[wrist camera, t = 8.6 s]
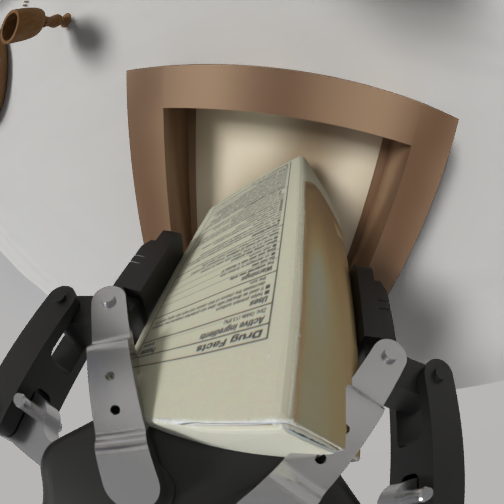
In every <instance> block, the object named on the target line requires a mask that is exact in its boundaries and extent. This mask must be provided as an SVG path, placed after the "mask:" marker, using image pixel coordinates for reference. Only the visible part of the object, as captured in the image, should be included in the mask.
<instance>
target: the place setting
mask: <svg viewBox="0 0 504 504" xmlns="http://www.w3.org/2000/svg"><path fill="white" fill-rule="evenodd" d="M24 2H27V1H24ZM23 6H26V5H23ZM70 21H71V15H70V14H69V13H67V14H65V15H64V16H63V17H62V16H61V15H59V14H56V15H53V16H51V17H47V16H45V12H44V11H43V10H42V9H39V8H21V9H15V10H12V11H10V12H9V13H8V15H7V16H6V18H5V19H4V22H3V24H2V28H1V32H0V109H1V107H2V104H3V100H4V96H5V90H6V84H7V73H8V57H7V48H6V44H10V43H14V42H19V41H23V40H27V39H29V38H32V37H34V36H35V35H37V34H38V33H39V32H40V31H41V29H42V28H43V27H46V26H49V27H52V28H54V27H57V26H59V25H60V24H61V26H62V27H66V26H68V24H69V23H70Z"/></svg>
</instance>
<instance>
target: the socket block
mask: <svg viewBox="0 0 504 504" xmlns="http://www.w3.org/2000/svg"><path fill="white" fill-rule="evenodd" d="M127 109H128V126H129V139H130V151H131V161H132V170H133V178H134V186H135V193H136V200H137V207H138V213H139V219H140V225H141V231H142V236H143V242H144V244H146V243H147V242H149V241H150V240H155V241H156V239H157V238H158V236H159V235H160V234H161V232H162V231H164V230H166V231H172V232H178V233H181V235H182V243H183V253H185V251H186V249H187V248H188V246H189V244H190V242H191V241H192V239H193V237H194V235H195V234H196V232H197V230H198V228H199V227H200V225H201V223H202V222H203V220H204V218H205V217H206V215H207V213H208V212H209V210H210V209H211V208H212V207H213V206H215V205H216V204H218V203H219V202H221V201H222V200H224V199H225V198H227V197H228V196H230V195H231V194H233V193H235V192H236V191H238V190H239V189H241V188H243V187H244V186H246V185H248V184H249V183H251V182H253V181H254V180H256V179H258V178H259V177H261V176H263V175H265V174H266V173H268V172H270V171H272V170H274V169H275V168H277V167H279V166H281V165H283V164H285V163H287V162H289V161H291V160H293V159H295V158H297V157H299V156H302V157H304V158H305V159H306V160H307V161H308V163H309V164H310V166H311V168H312V169H313V171H314V173H315V174H316V176H317V177H318V179H319V181H320V182H321V184H322V186H323V188H324V189H325V191H326V193H327V195H328V197H329V199H330V200H331V202H332V204H333V206H334V208H335V210H336V212H337V214H338V216H339V218H340V221H341V226H342V232H343V238H344V244H345V250H346V256H347V262H348V268H349V274H350V271H351V269H352V267H353V265H354V264H356V265H361V266H367V267H371V268H372V271H373V276H374V280H375V281H381V283H382V284H383V286H384V288H385V289H386V291H387V295H388V294H389V292H390V291H391V289H392V287H393V285H394V283H395V281H396V279H397V278H398V276H399V274H400V272H401V270H402V268H403V266H404V264H405V262H406V260H407V258H408V256H409V254H410V252H411V250H412V248H413V245H414V243H415V241H416V239H417V237H418V235H419V232H420V230H421V228H422V226H423V223H424V221H425V219H426V216H427V214H428V211H429V209H430V206H431V204H432V201H433V199H434V196H435V194H436V191H437V188H438V185H439V183H440V180H441V177H442V174H443V171H444V168H445V165H446V162H447V159H448V156H449V153H450V149H451V146H452V143H453V139H454V135H455V132H456V128H457V124H458V120H459V119H457V118H455V117H453V116H451V115H449V114H447V113H445V112H443V111H440V110H438V109H436V108H433V107H431V106H429V105H426V104H424V103H421V102H419V101H416V100H413V99H410V98H407V97H405V96H402V95H399V94H396V93H392V92H389V91H386V90H383V89H379V88H376V87H372V86H369V85H365V84H361V83H357V82H353V81H349V80H345V79H340V78H336V77H331V76H326V75H321V74H315V73H309V72H303V71H296V70H289V69H281V68H272V67H262V66H248V65H227V64H190V65H170V66H158V67H149V68H141V69H134V70H127Z"/></svg>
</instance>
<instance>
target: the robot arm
mask: <svg viewBox="0 0 504 504" xmlns="http://www.w3.org/2000/svg"><path fill="white" fill-rule="evenodd" d="M183 255H184V253H183V243H182V235H181V233H178V232H172V231H166V230H164V231H162V232H161V234H160V235H159V236H158V238H157V239H156V241H155V240H150V241H149V242H147V243H146V244H144V245H143V246H141V248H140V249H139V250H138V252H137V253H136V256H134V257H133V258H132V260H131V262H130V263H129V264H128V265H127V267H126V268H125V269H124V271H123V272H122V274H121V275H120V276H119V278H118V279H117V281H116V282H115V284H114V285H113V286H107V287H104V288H102V289H100V290H99V291H97V292H96V293H95V295H94V296H77V295H76V293H75V291H74V290H73V289H72V288H71V287H69V286H61V287H58V288H56V289H55V290H53V291H52V292H51V293H50V294H49V295H48V297H47V298H46V299H45V301H44V302H43V303H42V305H41V306H40V307H39V309H38V310H37V311H36V313H35V314H34V316H33V317H32V318H31V320H30V321H29V322H28V324H27V325H26V327H25V328H24V330H23V331H22V332H21V334H20V335H19V337H18V339H17V340H16V341H15V343H14V344H13V346H12V348H11V349H10V351H9V352H8V354H7V356H6V357H5V359H4V360H3V362H2V364H1V366H0V436H2V437H4V438H6V439H7V440H9V441H11V442H13V443H14V444H15V445H16V446H17V447H18V448H20V449H21V450H22V451H23V452H24V453H25V454H26V455H28V456H29V457H30V458H31V459H33V460H34V461H35V462H36V463H38V464H39V465H40V466H41V475H42V481H43V504H360V502H359V501H358V500H357V498H356V497H355V495H354V494H353V493H352V491H351V490H350V488H349V487H348V485H347V484H346V482H345V481H344V479H343V478H342V477H341V473H342V472H343V471H344V470H345V468H346V467H347V466H348V464H349V463H350V462H351V460H352V459H353V458H354V456H355V455H356V454H357V452H358V451H359V450H360V448H361V447H362V445H363V444H364V442H365V441H366V440H367V438H368V436H369V435H370V434H371V432H372V431H373V429H374V428H375V426H376V424H377V423H378V421H379V420H380V418H381V416H382V415H383V412H384V408H383V406H386V407H388V408H389V409H390V433H391V469H390V486H388V487H387V488H385V489H384V491H383V492H382V493H381V495H380V497H379V499H378V503H377V504H464V493H465V472H464V471H465V470H464V451H463V438H462V429H461V420H460V413H459V406H458V400H457V394H456V389H455V384H454V379H453V374H452V371H451V369H450V367H449V366H448V365H447V364H446V363H445V362H444V361H442V360H439V359H432V360H430V361H429V362H428V363H427V364H426V365H425V364H422V363H420V362H417V361H415V360H412V359H410V358H408V357H407V355H406V352H405V350H404V348H403V347H402V346H401V345H400V344H399V343H398V342H396V338H395V332H394V326H393V320H392V315H391V311H390V304H389V303H388V302H389V299H388V295H387V291H386V289H385V288H384V286H383V284H382V283H381V281H375V280H374V276H373V271H372V268H371V267H367V266H361V265H356V264H354V265H353V267H352V269H351V271H350V274H349V275H350V282H351V289H352V298H353V306H354V315H355V324H356V337H357V348H358V362H359V368H358V369H357V371H356V372H355V374H354V376H353V377H352V385H349V384H348V385H347V387H346V425H347V428H348V433H347V434H346V443H345V450H340V449H338V450H336V451H335V452H334V454H323V455H322V456H320V457H318V459H315V457H316V456H317V455H318V454H304V453H290V454H288V455H287V456H286V457H279V456H269V455H260V454H252V453H246V452H239V451H234V450H228V449H223V448H218V447H214V446H209V445H206V444H202V443H198V442H195V441H191V440H188V439H184V438H181V437H178V436H175V435H172V434H169V433H166V432H163V431H161V430H158V429H155V428H153V427H150V426H148V424H147V422H146V419H145V413H144V406H143V402H142V397H141V393H140V388H139V383H138V378H137V375H139V374H140V368H139V358H138V356H137V353H136V350H135V345H136V343H137V341H138V339H139V337H140V335H141V333H142V331H143V329H144V327H145V325H146V323H147V321H148V319H149V317H150V315H151V313H152V311H153V309H154V307H155V306H156V304H157V302H158V300H159V298H160V296H161V294H162V293H163V291H164V289H165V287H166V285H167V283H168V281H169V280H170V278H171V276H172V274H173V272H174V270H175V269H176V267H177V265H178V264H179V262H180V260H181V258H182V256H183ZM63 333H64V334H65V336H64V337H63V338H62V340H61V342H60V343H59V345H58V346H57V348H56V350H55V352H54V353H53V354H52V356H51V353H52V350H53V347H54V346H55V345H56V343H57V342H58V340H59V338H60V337H61V335H62V334H63ZM86 360H87V370H88V383H89V392H90V401H91V409H92V416H93V421H91V422H89V423H88V424H86V425H84V426H82V427H80V428H78V429H76V430H74V431H72V432H70V433H68V434H66V435H64V436H62V437H60V438H59V436H58V432H60V431H61V429H62V424H61V419H60V414H59V410H60V409H61V407H62V405H63V402H64V401H65V399H66V396H67V395H68V393H69V391H70V389H71V387H72V385H73V383H74V381H75V380H76V378H77V376H78V374H79V372H80V370H81V368H82V367H83V365H84V363H85V361H86Z"/></svg>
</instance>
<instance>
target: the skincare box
mask: <svg viewBox="0 0 504 504" xmlns="http://www.w3.org/2000/svg"><path fill="white" fill-rule="evenodd" d="M135 350H136V353H137V356H138V358H139V368H140V374H139V375H137V378H138V383H139V388H140V393H141V397H142V402H143V406H144V413H145V419H146V422H147V424H148V426H150V427H153V428H155V429H158V430H161V431H163V432H166V433H169V434H172V435H175V436H178V437H181V438H184V439H188V440H191V441H195V442H198V443H202V444H206V445H209V446H214V447H218V448H223V449H228V450H234V451H239V452H246V453H252V454H260V455H269V456H279V457H286V456H287V455H288V454H290V453H304V454H318V455H317V456H316V457H315V459H318V457H320V456H322V455H323V454H334V452H335V451H336V450H338V449H340V450H345V443H346V434H347V433H348V428H347V425H346V387H347V385H348V384H349V385H352V377H353V376H354V374H355V372H356V371H357V369H358V368H359V362H358V348H357V337H356V324H355V315H354V306H353V298H352V289H351V282H350V275H349V268H348V262H347V256H346V250H345V244H344V238H343V232H342V226H341V221H340V218H339V216H338V214H337V212H336V210H335V208H334V206H333V204H332V202H331V200H330V199H329V197H328V195H327V193H326V191H325V189H324V188H323V186H322V184H321V182H320V181H319V179H318V177H317V176H316V174H315V173H314V171H313V169H312V168H311V166H310V164H309V163H308V161H307V160H306V159H305V158H304V157H302V156H299V157H297V158H295V159H293V160H291V161H289V162H287V163H285V164H283V165H281V166H279V167H277V168H275V169H274V170H272V171H270V172H268V173H266V174H265V175H263V176H261V177H259V178H258V179H256V180H254V181H253V182H251V183H249V184H248V185H246V186H244V187H243V188H241V189H239V190H238V191H236V192H235V193H233V194H231V195H230V196H228V197H227V198H225V199H224V200H222V201H221V202H219V203H218V204H216V205H215V206H213V207H212V208H211V209H210V210H209V212H208V213H207V215H206V217H205V218H204V220H203V222H202V223H201V225H200V227H199V228H198V230H197V232H196V234H195V235H194V237H193V239H192V241H191V242H190V244H189V246H188V248H187V249H186V251H185V253H184V255H183V256H182V258H181V260H180V262H179V264H178V265H177V267H176V269H175V270H174V272H173V274H172V276H171V278H170V280H169V281H168V283H167V285H166V287H165V289H164V291H163V293H162V294H161V296H160V298H159V300H158V302H157V304H156V306H155V307H154V309H153V311H152V313H151V315H150V317H149V319H148V321H147V323H146V325H145V327H144V329H143V331H142V333H141V335H140V337H139V339H138V341H137V343H136V345H135ZM359 459H360V450H359V451H358V452H357V454H356V455H355V456H354V458H353V459H352V460H351V462H354V461H359Z"/></svg>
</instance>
